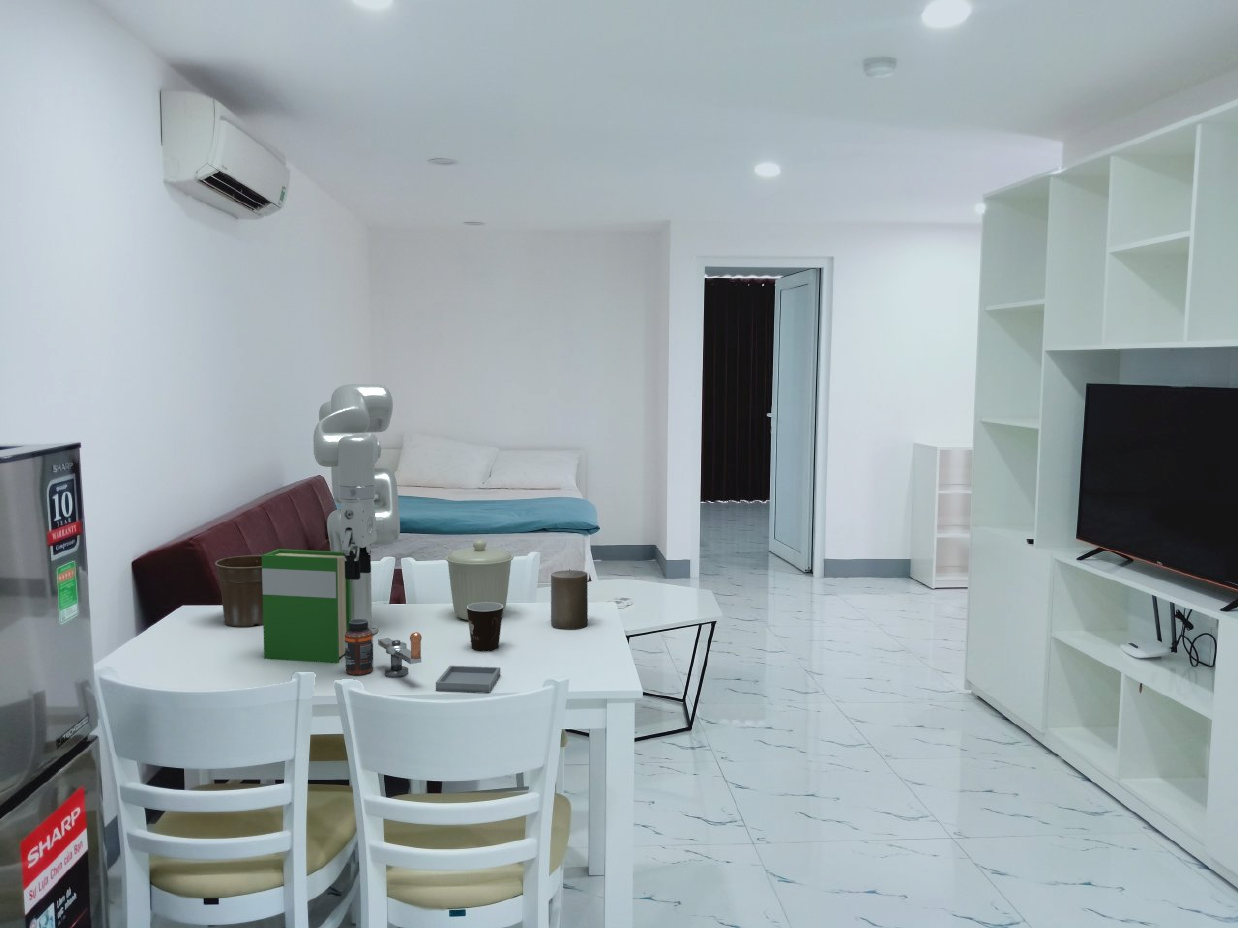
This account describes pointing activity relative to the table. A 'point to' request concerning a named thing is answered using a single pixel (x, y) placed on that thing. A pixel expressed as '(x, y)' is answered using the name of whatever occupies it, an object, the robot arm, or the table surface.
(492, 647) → the coffee mug
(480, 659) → the table surface
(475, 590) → the canister
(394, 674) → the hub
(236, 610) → the plant pot
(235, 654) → the table surface
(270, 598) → the hardback book
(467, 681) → the tray
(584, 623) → the pillar candle
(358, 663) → the supplement bottle
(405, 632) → the table surface
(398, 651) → the crank
